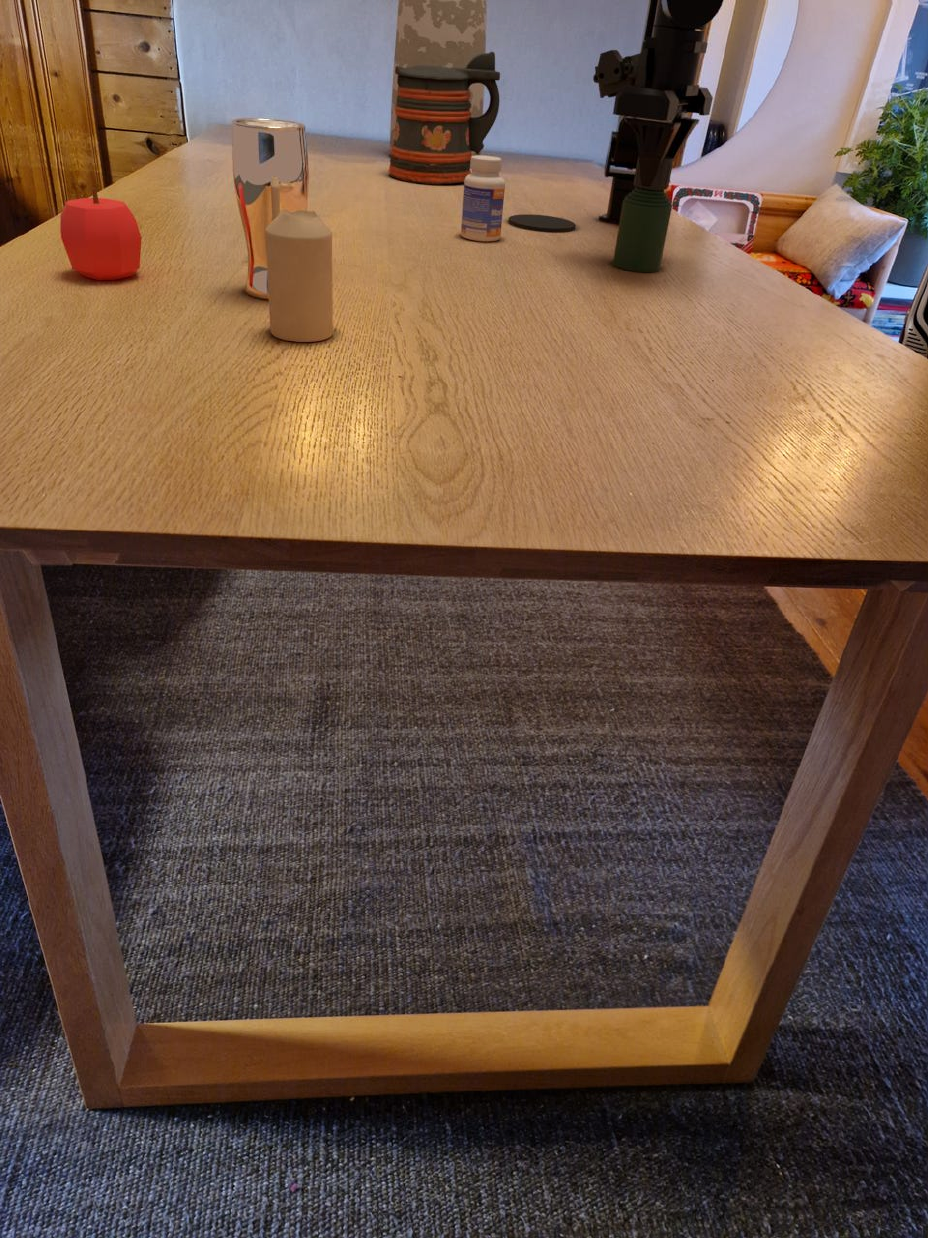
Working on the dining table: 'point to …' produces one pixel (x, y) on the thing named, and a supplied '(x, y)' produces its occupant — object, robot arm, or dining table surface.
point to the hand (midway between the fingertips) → (650, 183)
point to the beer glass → (267, 184)
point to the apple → (101, 237)
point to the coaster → (542, 223)
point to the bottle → (642, 230)
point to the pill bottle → (483, 200)
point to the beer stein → (440, 120)
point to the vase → (440, 41)
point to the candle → (299, 276)
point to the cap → (657, 175)
